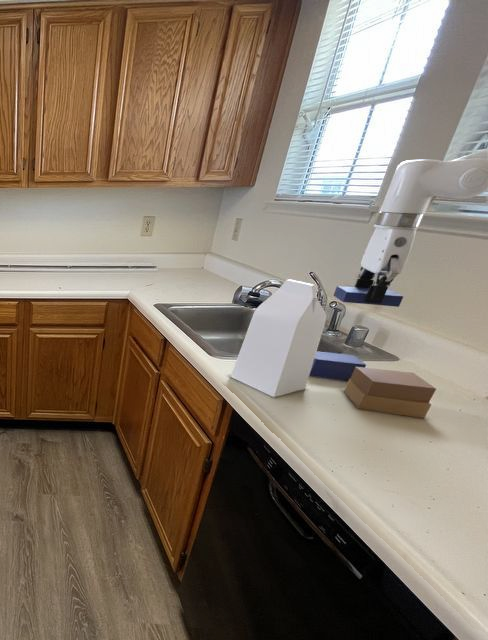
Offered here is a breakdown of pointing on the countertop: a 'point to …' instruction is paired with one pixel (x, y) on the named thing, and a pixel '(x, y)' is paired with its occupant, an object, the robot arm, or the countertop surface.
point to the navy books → (335, 365)
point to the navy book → (360, 293)
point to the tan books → (390, 391)
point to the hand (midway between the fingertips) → (365, 298)
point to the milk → (282, 340)
